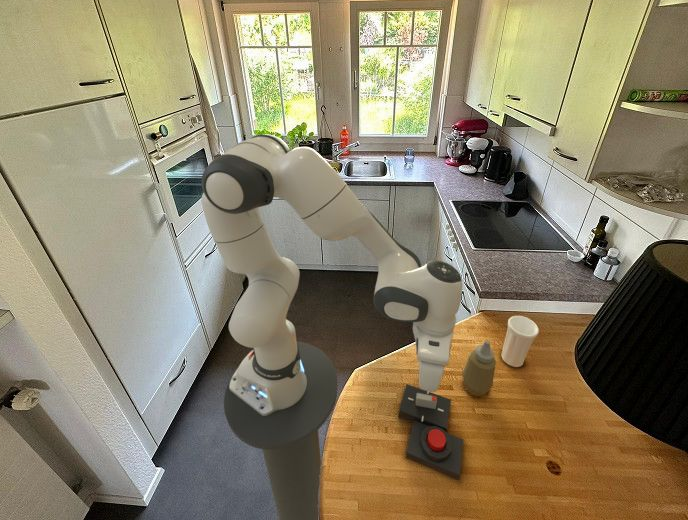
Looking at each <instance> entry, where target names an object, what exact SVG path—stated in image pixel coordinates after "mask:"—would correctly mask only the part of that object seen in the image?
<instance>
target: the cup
mask: <svg viewBox="0 0 688 520" xmlns="http://www.w3.org/2000/svg"><path fill="white" fill-rule="evenodd" d="M539 330H540V329H539V327H538V324H536V323H535V322H534V321H533V320H532V319H531V318H529V317H526V316H523V315H513V316H510V317H509V318H508V320H507V330H506V334H505V337H504V343H503V346H502V350H501V355H500V357H501V358H502V360H503V362H504V363H505V364H507V365H509V366H510V367H513V368H518V367H522V366H523V365H524V362H525V360H526V358H527V355H528V353H529V350H530V348H531V346H532V344H533V342H534V340H535V339H536V337H538V335H539V333H540V331H539Z"/></svg>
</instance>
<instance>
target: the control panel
mask: <svg viewBox="0 0 688 520" xmlns="http://www.w3.org/2000/svg"><path fill="white" fill-rule="evenodd" d="M417 393H420V394H425V395H431V396H436V397H437V404H436V409H432V408H427V407H422V406H416V396H417ZM451 403H452V399H451V398H448V397H445V396H442V395H440V394H436V393H435V392H430V391H425V390H422V389H420V387H417V386H414V385H411V384H408V383H406V384H405V387H404V391H403V395H402V399H401V402H400V406H399V410H398V418H399V419H402V420H405V421H407V422H410V423H412V424H413V421H414V420H415V421H418V422H420V423H423V424H425V425H428V426H430V427H431V426H436V427H439V428H442V429H443V430H444V431H445V432H446V433H447V430H448V424H449V418H450V411H451Z"/></svg>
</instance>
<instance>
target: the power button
mask: <svg viewBox="0 0 688 520" xmlns="http://www.w3.org/2000/svg"><path fill="white" fill-rule="evenodd" d="M427 442H428V445H429V447H430V448H431V449H432V450H434V451H436V452H440V451H442V450H443V449H444V447H445V443H446V438H445V435H444V434H443V433H442V432H441V431H440V430H437V429H433V430H431V431H430V432H429V434H428V439H427Z"/></svg>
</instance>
